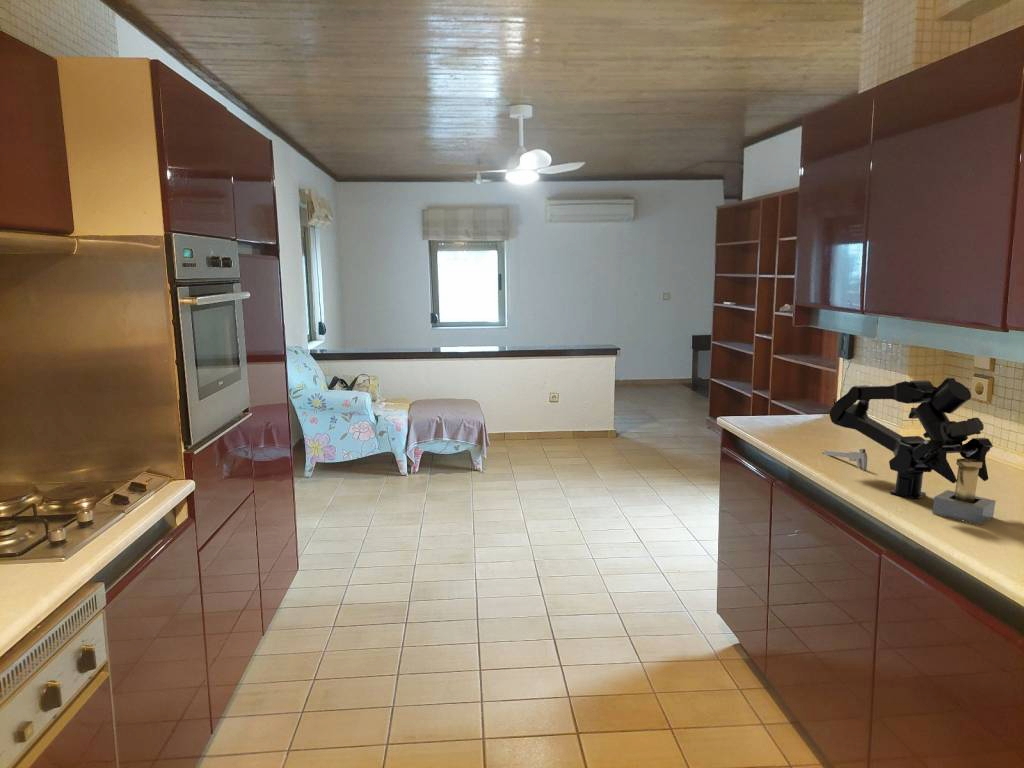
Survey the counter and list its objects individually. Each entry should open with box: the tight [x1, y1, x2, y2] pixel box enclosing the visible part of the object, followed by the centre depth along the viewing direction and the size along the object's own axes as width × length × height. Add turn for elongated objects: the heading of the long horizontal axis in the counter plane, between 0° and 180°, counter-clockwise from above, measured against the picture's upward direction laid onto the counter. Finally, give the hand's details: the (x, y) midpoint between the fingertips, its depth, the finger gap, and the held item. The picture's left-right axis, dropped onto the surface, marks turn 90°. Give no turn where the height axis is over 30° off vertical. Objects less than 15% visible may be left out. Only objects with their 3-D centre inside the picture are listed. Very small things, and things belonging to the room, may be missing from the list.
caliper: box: [821, 448, 868, 471], centre depth 215 cm, size 20×1×6 cm, turn 10°
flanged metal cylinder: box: [954, 457, 982, 504], centre depth 167 cm, size 5×5×13 cm
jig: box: [931, 489, 996, 526], centre depth 168 cm, size 9×10×4 cm
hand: (970, 481), depth 166 cm, fingers open, 9 cm apart
